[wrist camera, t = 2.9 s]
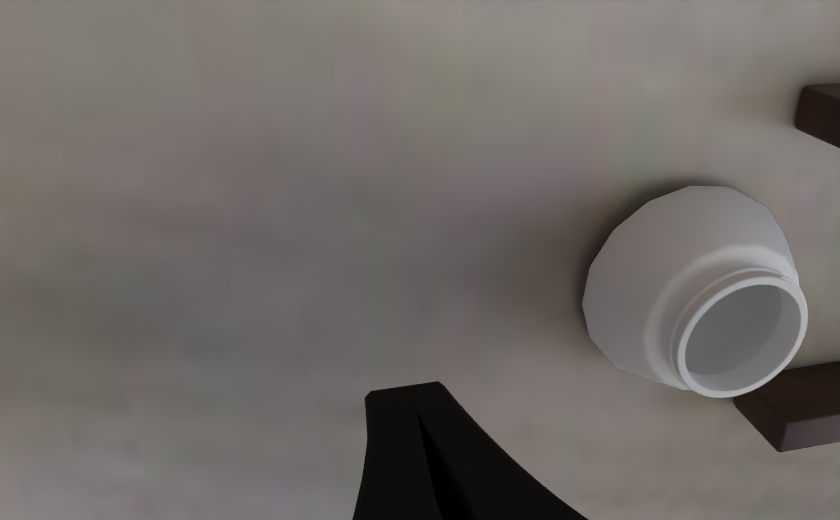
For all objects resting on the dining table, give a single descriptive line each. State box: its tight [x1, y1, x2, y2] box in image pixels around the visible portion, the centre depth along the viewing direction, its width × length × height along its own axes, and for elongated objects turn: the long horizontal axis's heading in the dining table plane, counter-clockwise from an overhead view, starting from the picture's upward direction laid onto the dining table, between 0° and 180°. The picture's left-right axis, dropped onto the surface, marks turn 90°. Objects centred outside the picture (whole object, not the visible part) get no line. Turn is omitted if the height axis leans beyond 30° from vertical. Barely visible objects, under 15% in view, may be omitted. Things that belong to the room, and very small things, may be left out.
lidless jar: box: [582, 186, 808, 398], centre depth 17 cm, size 5×3×5 cm
